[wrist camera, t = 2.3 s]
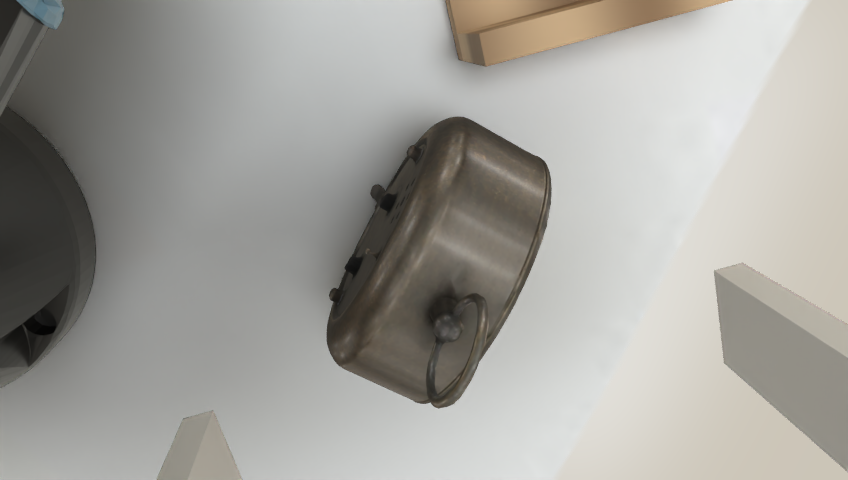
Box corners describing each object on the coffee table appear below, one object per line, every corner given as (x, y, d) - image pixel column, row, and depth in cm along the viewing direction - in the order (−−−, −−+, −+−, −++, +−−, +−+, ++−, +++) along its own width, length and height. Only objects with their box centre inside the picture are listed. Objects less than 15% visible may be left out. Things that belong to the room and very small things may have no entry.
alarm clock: (405, 321, 34) (452, 564, 18) (311, 279, 32) (278, 500, 17) (512, 138, 31) (669, 240, 16) (416, 84, 30) (486, 138, 15)
